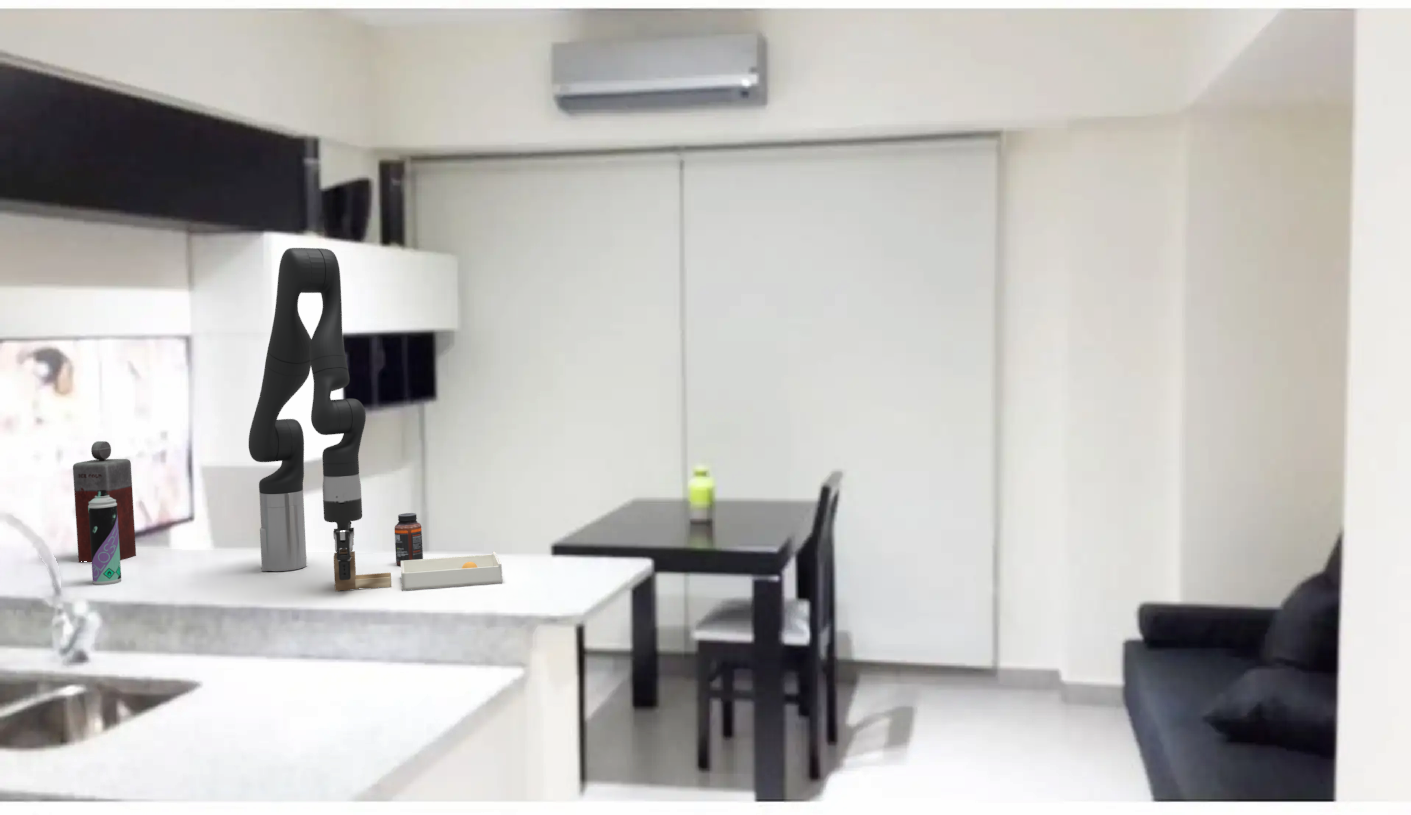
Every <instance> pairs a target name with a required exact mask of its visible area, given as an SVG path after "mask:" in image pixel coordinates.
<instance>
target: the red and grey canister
mask: <svg viewBox="0 0 1411 815" xmlns="http://www.w3.org/2000/svg"><path fill="white" fill-rule="evenodd" d="M90 451H91V455H92V457H93V458H94V459H92V460H85V461H81V462H79V461H78V462H76V463H74V464H73V466H72V473H73V474H72V476H73V477H72V479H73V492H74V508H75V509H74V510H75V524H76V540H77V544H76V545H77V557H78V558H77V559H78V563H84V561H87V562H92V560H91V544H90V527H89V511H88V505H89V501H91V500H92V499H94V498H95V496H96V494H97V490H106V492H107V494H108V495H109V497H111V498H113V499H115V500H116V503H117V515H118V532H119V549H120V561H123V560H126V559H130V558H133V557H136V556H137V548H136V547H137V546H136V529H135V514H134V513H135V512H134V496H133V494H134V493H133V482H132V481H133V479H132V463H131V461H130V459H127V458H110V456H111V454H112V447H111V443H109V442H108V441H106V440H105V441H104V440H103V441H101V440H100V441H99V440H98V441H95V442H93V444H92V445H91V450H90ZM81 561H82V562H81Z"/></svg>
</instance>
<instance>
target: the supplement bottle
mask: <svg viewBox="0 0 1411 815" xmlns="http://www.w3.org/2000/svg"><path fill="white" fill-rule="evenodd" d="M417 519H418V518H417V513H416V512H415V513H414V512H406V513H400V514H398V515H397V520H398V522H397V523H396V524H395V525H394V544H395V545H394V546H395V548H394V549H395V563H396V565H397V566H400V567H401V561H404V560H419V559H424V550H423V549H424V548H423V535H422V534H423V533H422V525H421V523H420V522H418V521H417Z"/></svg>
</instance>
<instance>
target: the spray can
mask: <svg viewBox="0 0 1411 815" xmlns="http://www.w3.org/2000/svg"><path fill="white" fill-rule="evenodd" d="M88 511H89V527H90V544H91V560H92V563H91V571H92V572H91V573H92V574H91V575H92V584H93V585H94V584H95V585H94V586H104V585H105V586H106V585H113V584H118V583H121V581H122V568H121V560H120V549H119V532H118V515H117V503H116V500H115V499H113V498H111V497H109V495H108V494H107V492H106V490H97V494H96V496H95V498H94V499H92V500H91V501H89V505H88Z"/></svg>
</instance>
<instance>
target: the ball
mask: <svg viewBox="0 0 1411 815" xmlns="http://www.w3.org/2000/svg"><path fill="white" fill-rule="evenodd" d="M464 568H478V567H477V565H476V564H475V563H473V562H467V563H465V564H464V565H463V566H462V569H464Z"/></svg>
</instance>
